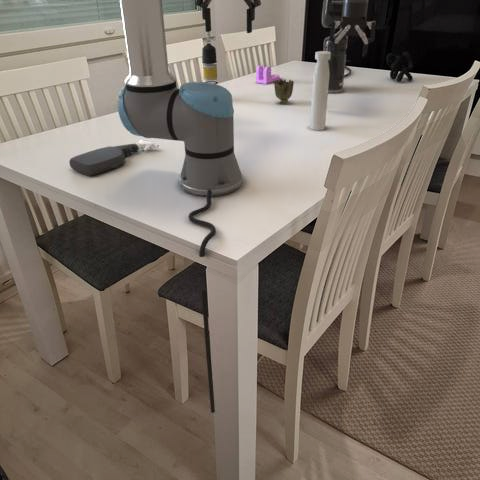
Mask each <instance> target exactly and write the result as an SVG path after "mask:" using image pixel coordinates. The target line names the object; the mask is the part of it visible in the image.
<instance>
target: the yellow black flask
mask: <svg viewBox="0 0 480 480" xmlns="http://www.w3.org/2000/svg"><path fill="white" fill-rule="evenodd" d="M205 33H206V39H207V40H206V42H207V43H206V45H204V46H202V49H201V50H202V51H201V52H202V54H201V55H202V57H201V58H202V61H201V63H202V71H203V72H202V73H203V74H202V75H203V80H204V81H206V82H207V83H214V84H217V85H218V84H219V82H218V81H216V80H218V64H216V63H218V61H217V48H216V47H215V46H214V45H212V43H210V42H211V40H210V39H211V31H210V32H206V31H205Z"/></svg>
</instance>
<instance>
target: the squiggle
mask: <svg viewBox="0 0 480 480" xmlns="http://www.w3.org/2000/svg"><path fill="white" fill-rule="evenodd" d="M401 57H402V59H401ZM391 59H392V60H391ZM393 60H394V61H393ZM385 61H386V64H387V67H390V68H391V70H390V72H389V78H390V79H391V80H395V79H396V81H397V82H399V83H400V82H402V81H403V79H404V76H406V78H407V80H408V81H412V80H413V79H414V77H413V75H412V74H411V73H410V72H409V71H410V70H412V69H413V68H414V64H413V61H412V57H411V54H410V53H409V52H408V51H403V53H402V54H401V55H396V54H394V53H392V52H390V53H387V55H386V57H385ZM406 62H407V65H408V66H407V67H405V66H404V65H405V64H406ZM400 70H401V71H400Z"/></svg>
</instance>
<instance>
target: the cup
mask: <svg viewBox="0 0 480 480" xmlns="http://www.w3.org/2000/svg"><path fill="white" fill-rule="evenodd" d="M294 84H295V81H294V80H293V79H288V81H287V79H282V78H280V79H279V80H276V81H274V82H273V86H274V94H275V97H276V98H277V99H278V103H279V104H280V105H281V104H283V105H284V104H288V102H289V99H290V98H291V97H292V95H293V92H294Z"/></svg>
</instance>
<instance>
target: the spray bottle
mask: <svg viewBox="0 0 480 480" xmlns="http://www.w3.org/2000/svg"><path fill="white" fill-rule="evenodd" d="M159 148H160V145H159V144H158V143H155V142H151V141H148V140H144V139H139V140H138V141H137V142H135V143H129V144H128V143H126V144H122V145H113V146H105V147H100V148H97V149H94V150H90V151H87V152H83V153H81V154H78V155H74V156H73V157H70V159H69V161H68V162H69V167H70V168H71V169H72V170H74V171H75V172H78V173H81V174H83V175H85V176H89V177H90V176H91V177H92V176H95V175H99V174H102V173H105V172H107V171H110V170H113V169H116V168H118V167H120V166H122V165H123V164H124V163H125V158H126V156H127V155H131V154H133V153H138V151H140V150H143V151H144V152H146V151H147V150H149V149H159Z"/></svg>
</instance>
